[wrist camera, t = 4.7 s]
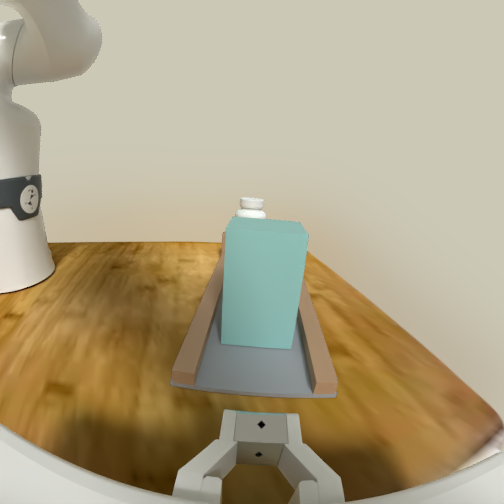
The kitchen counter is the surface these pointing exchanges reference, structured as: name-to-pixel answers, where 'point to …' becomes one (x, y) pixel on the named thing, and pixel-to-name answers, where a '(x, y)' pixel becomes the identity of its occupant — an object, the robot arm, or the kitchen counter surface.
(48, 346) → the kitchen counter surface
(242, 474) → the kitchen counter surface
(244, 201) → the supplement bottle
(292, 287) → the block
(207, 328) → the chute
